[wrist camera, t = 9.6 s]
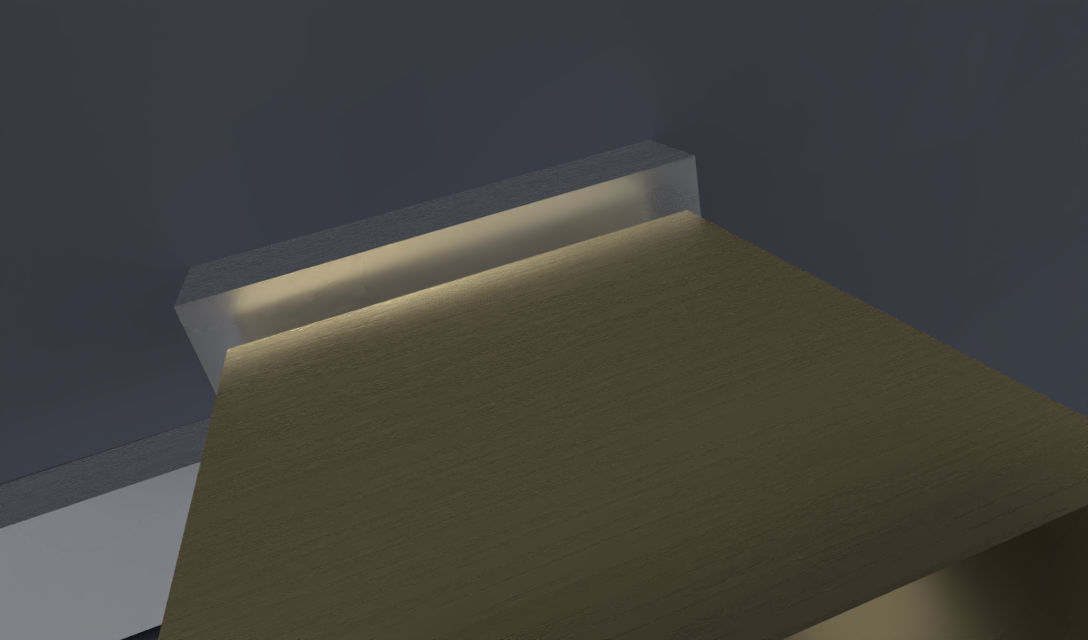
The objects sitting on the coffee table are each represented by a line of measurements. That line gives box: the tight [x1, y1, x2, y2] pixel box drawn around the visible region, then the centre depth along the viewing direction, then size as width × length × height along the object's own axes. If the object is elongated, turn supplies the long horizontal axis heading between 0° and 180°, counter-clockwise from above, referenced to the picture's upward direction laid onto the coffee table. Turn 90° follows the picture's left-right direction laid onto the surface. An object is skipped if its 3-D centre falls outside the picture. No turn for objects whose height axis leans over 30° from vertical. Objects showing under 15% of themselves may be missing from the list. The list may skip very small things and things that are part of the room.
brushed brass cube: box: [158, 210, 1088, 640], centre depth 7 cm, size 6×6×6 cm
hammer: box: [0, 140, 701, 640], centre depth 9 cm, size 17×7×4 cm, turn 102°
